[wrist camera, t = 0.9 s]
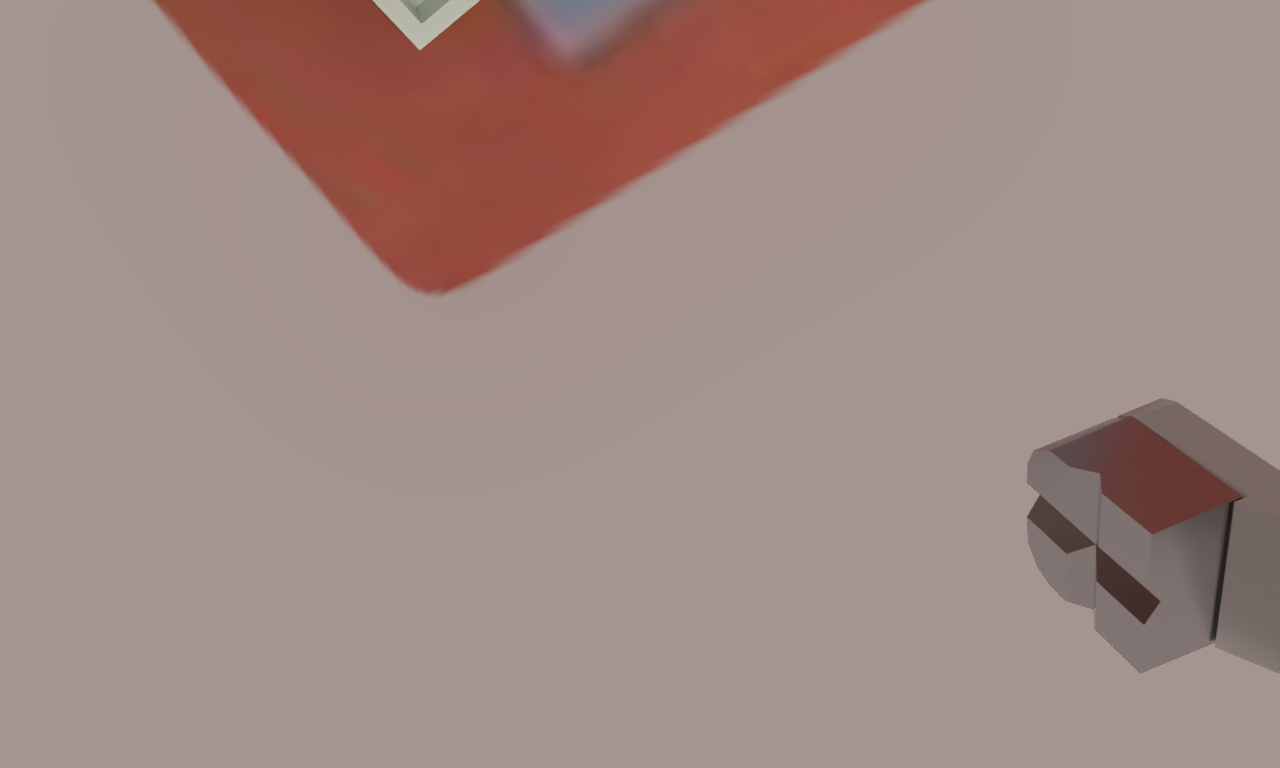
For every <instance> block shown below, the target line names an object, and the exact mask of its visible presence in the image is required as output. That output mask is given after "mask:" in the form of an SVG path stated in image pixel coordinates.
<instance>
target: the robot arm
mask: <svg viewBox="0 0 1280 768" xmlns="http://www.w3.org/2000/svg"><path fill="white" fill-rule="evenodd" d="M1027 483H1028V484H1029V485H1030V486H1031V487H1032V488H1033V489H1034V490H1036V491H1037V492H1038V493H1039V494H1040V495H1039V497H1038V499H1037V501H1036V502H1035V504H1034V506H1033V508H1032V509H1031V511H1030V513H1029V515H1028V516H1027V529H1028V543H1029V546H1030V548H1031V551H1032V554H1033V556H1034V559H1035V562H1036V564H1037V567H1038V568H1039V570H1040V571H1041V573H1042V574H1043V576H1044V577H1045V579H1046V580H1047V582H1048V583H1049V584H1050V586H1052V587H1053V588H1054V590H1055V591H1056V592H1058V593H1059V595H1060V596H1061V597H1062V598H1063V599H1064V600H1066V601H1069V602H1072V603H1075V604H1078V605H1081V606H1084V607H1087V608H1091V609H1093V612H1094V626H1095V630H1096V631H1097V632H1098V633H1099V634H1100V635H1101V636H1102V637H1103V638H1104V639H1105V640H1106V641H1107V642H1109V644H1110V645H1111V646H1113V648H1115V649H1116V650H1117V651H1118V652H1119V653H1120V654H1121V655H1122V656H1123V657H1124V658H1125V659H1126V660H1127V661H1128V662H1129V663H1130V664H1131V665H1132V666H1133V667H1134V668H1135V669H1136V670H1137V671H1138V672H1139V673H1142V672H1145V671H1147V670H1150V669H1152V668H1155V667H1157V666H1160V665H1162V664H1164V663H1167V662H1169V661H1172V660H1174V659H1176V658H1179V657H1181V656H1184V655H1186V654H1189V653H1191V652H1193V651H1196V650H1198V649H1200V648H1203V647H1205V646H1208V645H1210V644H1213V643H1215V647H1216V648H1218V649H1221V650H1223V651H1225V652H1228V653H1230V654H1233V655H1235V656H1238V657H1240V658H1243V659H1245V660H1247V661H1250V662H1252V663H1255V664H1257V665H1260V666H1262V667H1265V668H1267V669H1269V670H1272V671H1274V672H1277V673H1279V674H1280V471H1279V470H1278V469H1276V468H1275V467H1273V466H1272V465H1270V464H1269V463H1267V462H1266V461H1264V460H1262V459H1261V458H1260V457H1258V456H1257V455H1255V454H1254V453H1252V452H1251V451H1249V450H1248V449H1246V448H1245V447H1243V446H1242V445H1240V444H1239V443H1237V442H1236V441H1234V440H1233V439H1231V438H1230V437H1229V436H1227V435H1226V434H1224V433H1223V432H1221V431H1220V430H1218V429H1217V428H1215V427H1214V426H1212V425H1211V424H1209V423H1208V422H1206V421H1205V420H1203V419H1201V418H1200V417H1198V416H1197V415H1196V414H1194V413H1192V412H1191V411H1190V410H1188V409H1187V408H1185V407H1184V406H1182V405H1181V404H1179V403H1178V402H1175V401H1172V400H1167V399H1163V398H1161V399H1158V400H1156V401H1153V402H1151V403H1149V404H1146V405H1144V406H1141V407H1139V408H1136V409H1134V410H1131V411H1129V412H1127V413H1124V414H1122V415H1120V416H1118V417H1117V418H1113V419H1110V420H1107V421H1105V422H1103V423H1101V424H1098V425H1095V426H1093V427H1090V428H1088V429H1086V430H1083V431H1081V432H1078V433H1076V434H1073V435H1071V436H1068V437H1066V438H1063V439H1061V440H1058V441H1056V442H1053V443H1051V444H1049V445H1046V446H1044V447H1042V448H1039V449H1036V450H1034V451H1033V453H1032V455H1031V457H1030V459H1029V461H1028V471H1027Z"/></svg>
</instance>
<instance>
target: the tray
mask: <svg viewBox="0 0 1280 768" xmlns="http://www.w3.org/2000/svg"><path fill="white" fill-rule="evenodd" d="M373 1H374V2H375V3H376V4H377V6H378V7H379V8H380V9H381V10H382V11H383V12H384V13H385V14H386V15H387V16H388V17H389V18H390V19H391V20H392V21H393V23H394V24H395V25H396V26H397V27H398V28H399V29H400V30H401V31H402V32H403V33H404V34H405V35H406V36H407V37H408V38H409V39H410V41H411V42H412V43H413V44H414V45H415V46H416V47H417V48H418V49H419V50H421V49H422V48H423V47H425V46H426V45H427V44H428V43H429V42H431V41H432V40H433V39H434V38H435V37H437V36H438V35H439V34H440V33H441V32H443V31H444V30H445V29H446V28H447V27H448V26H450V25H451V24H452V23H453V22H454V21H456V20H457V19H458V18H459V17H460V16H462V15H463V14H464V13H465V12H466V11H468V10H469V9H470V8H471V7H472V6H474V5H475V4H476V3H477V2H478V1H480V0H373Z"/></svg>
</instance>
